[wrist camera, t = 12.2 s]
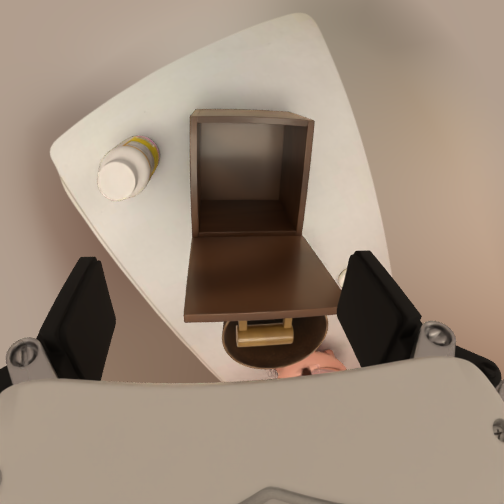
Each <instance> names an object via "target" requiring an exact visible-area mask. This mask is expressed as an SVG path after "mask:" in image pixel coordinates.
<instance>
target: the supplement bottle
mask: <svg viewBox="0 0 504 504" xmlns="http://www.w3.org/2000/svg"><path fill="white" fill-rule="evenodd" d="M159 157H160V156H159V150H158V148H157V146H156V144H155V143H154V142H153V141H152V140H151V139H149V138H147V137H145V136H132V137H130V138H128V139H126V140H125V141H123V142H122V143H120V144H119V145H118V146H116V147H115V148H113V149H112V150H111V151H109V152H108V153H107V154H106V155H105V156H104V157H103V159H102V161H101V163H100V166H99V174H98V177H97V184H98V188H99V190H100V192H101V193H102V194H103V195H104V196H105V197H106V198H108V199H110V200H113V201H121V200H124V199H126V198H131V197H134V196H136V195H138V194H139V193H140V192H142V191H143V189H144V188H145V187H146V185H147V183H148V182H149V180H150V178H151V176H152V175H153V173H154V171H155V170H156V168H157V166H158V163H159Z"/></svg>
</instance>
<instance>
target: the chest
mask: <svg viewBox="0 0 504 504" xmlns="http://www.w3.org/2000/svg"><path fill="white" fill-rule="evenodd" d="M313 132H314V120H311V119H308V118H305V117H303V116H300V115H297V114H294V113H291V112H285V111H269V110H246V109H195V111H194V112H193V113H192V115H191V116H190V188H191V218H192V238H195V237H247V236H302V229H303V221H304V213H305V205H306V197H307V189H308V180H309V171H310V162H311V152H312V142H313Z"/></svg>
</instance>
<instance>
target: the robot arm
mask: <svg viewBox="0 0 504 504" xmlns="http://www.w3.org/2000/svg"><path fill="white" fill-rule="evenodd" d="M337 317H338V319H339V321H340V324H341V326H342V328H343V330H344V332H345V334H346V336H347V338H348V340H349V342H350V344H351V346H352V348H353V351H354V353H355V355H356V357H357V359H358V361H359V363H360V366H361V368H356V369H350V370H343V371H337V372H330V373H323V374H315V375H307V376H298V377H289V378H279V379H268V380H255V381H240V382H220V383H173V384H172V383H133V382H110V381H101V377H102V373H103V369H104V365H105V361H106V357H107V354H108V350H109V346H110V342H111V339H112V335H113V332H114V328H115V324H116V318H115V314H114V310H113V307H112V303H111V299H110V296H109V292H108V288H107V284H106V280H105V276H104V272H103V268H102V264H101V261H97V259H96V257H81V258H80V259H79V260H78V262H77V263H76V265H75V267H74V268H73V270H72V272H71V273H70V275H69V277H68V279H67V281H66V282H65V284H64V286H63V287H62V289H61V291H60V293H59V294H58V297H57V298H56V300H55V302H54V304H53V306H52V307H51V310H50V311H49V313H48V315H47V317H46V319H45V321H44V323H43V325H42V327H41V329H40V331H39V334H38V336H37V338H36V339H35V338H30V337H29V338H23V339H20V340H18V341H16V342H15V343H14V344H13V345H12V346H11V347H10V348H9V350H8V351H7V354H6V364H7V366H5V367H3V368H2V369H0V504H504V380H501V373H500V370H499V368H498V367H497V366H496V364H495V363H494V362H492V361H490V360H488V359H486V358H484V357H482V356H479V355H477V354H475V353H472V352H470V351H467V350H465V349H463V348H460V347H459V346H456V338H455V335H454V333H453V331H452V330H451V329H450V328H449V327H447V326H446V325H444V324H443V323H440V322H437V321H428V322H425V323H424V324H422V323H421V321H420V319H421V317H422V316H421V315H420V313H419V312H418V311H417V309H416V308H415V307H414V305H413V304H412V303H411V301H410V300H409V299H408V297H407V296H406V295H405V294H404V292H403V291H402V290H401V288H400V287H399V286H398V284H397V283H396V282H395V281H394V279H393V278H392V277H391V276H390V274H389V273H388V272H387V271H386V269H385V268H384V267H383V266H382V264H381V263H380V262H379V261H378V260H377V258H376V257H375V256H374V255H373V254H372V252H371V251H355V253H354V254H353V255H351V256H350V258H349V262H348V266H347V271H346V275H345V279H344V283H343V287H342V291H341V294H340V298H339V302H338V306H337Z"/></svg>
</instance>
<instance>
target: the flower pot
mask: <svg viewBox="0 0 504 504" xmlns="http://www.w3.org/2000/svg"><path fill="white" fill-rule="evenodd" d="M272 323H283V319H269V320H250V321H247V325H255V324H272ZM237 325H238V321H226V322H224V324H223V332H222V343H223V346H224V349H225V351H226V352H227V354H228V355H229V356H230V357H231V358H232V359H233V360H235V361H236V362H238V363H239V364H242V365H244V366H247V367H250V368H255V369H277V368H283V367H287V366H290V365H293V364H295V363H298V362H300V361H302V360H303V359H305V358H307V357H308V356H310V355H311V354H312V353H313V352H314V351H315V350H316V349H317V348H318V347H319V346H320V345H321V343H322V342H323V340H324V338H325V337H326V334H327V331H328V319H327V315H323V316H312V317H299V318H292V327H293V333H294V337H293V342H292V343H291V344H280V345H267V346H251V347H237V341H236V326H237Z"/></svg>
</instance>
